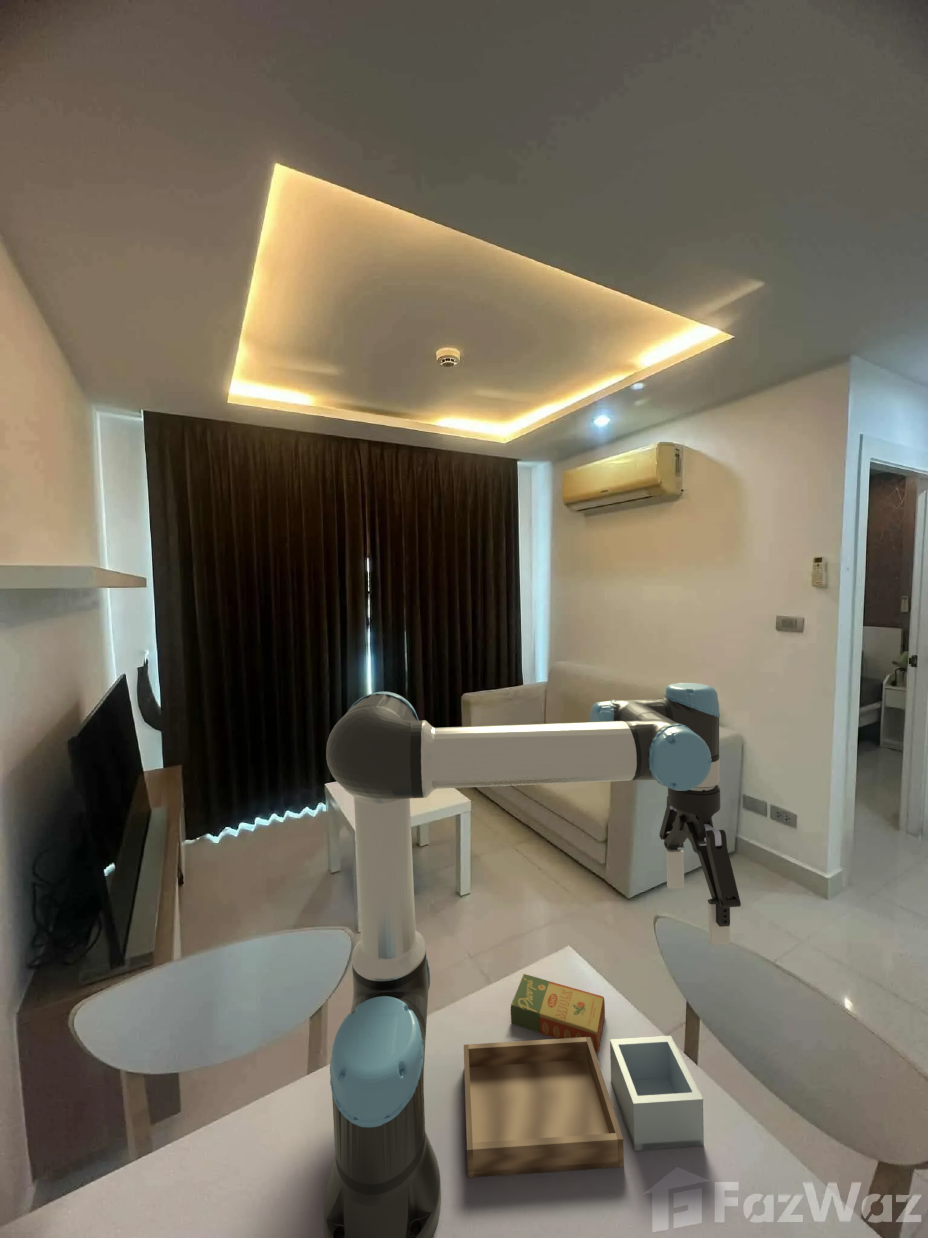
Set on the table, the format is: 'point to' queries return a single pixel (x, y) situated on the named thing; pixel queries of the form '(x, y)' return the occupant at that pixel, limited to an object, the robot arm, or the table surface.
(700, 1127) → the small crate
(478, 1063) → the crate
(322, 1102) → the table surface
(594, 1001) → the carton
